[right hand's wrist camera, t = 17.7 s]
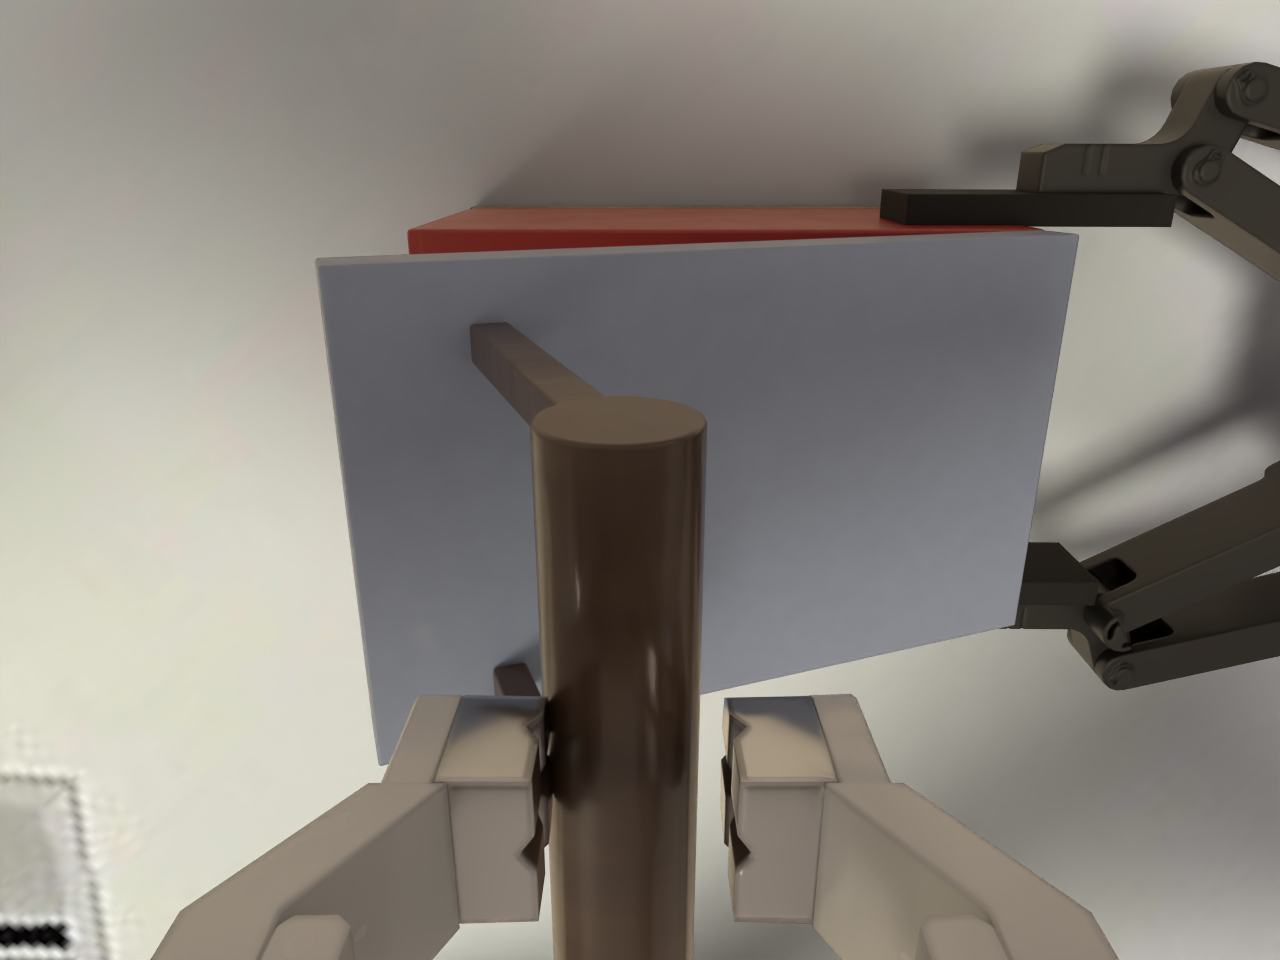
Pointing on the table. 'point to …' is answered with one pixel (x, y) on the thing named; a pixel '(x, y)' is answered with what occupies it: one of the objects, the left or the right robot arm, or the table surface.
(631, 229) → the chest
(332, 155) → the table surface
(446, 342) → the lid
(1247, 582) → the left robot arm
